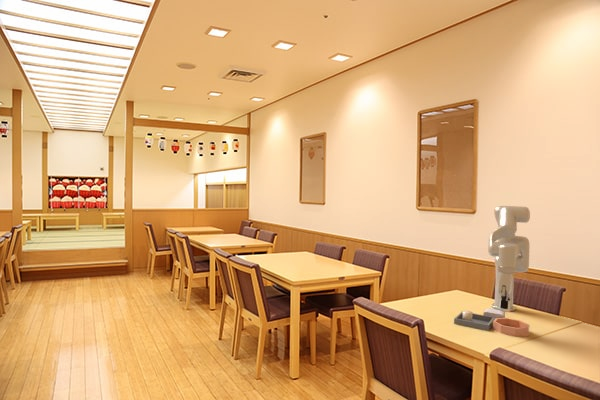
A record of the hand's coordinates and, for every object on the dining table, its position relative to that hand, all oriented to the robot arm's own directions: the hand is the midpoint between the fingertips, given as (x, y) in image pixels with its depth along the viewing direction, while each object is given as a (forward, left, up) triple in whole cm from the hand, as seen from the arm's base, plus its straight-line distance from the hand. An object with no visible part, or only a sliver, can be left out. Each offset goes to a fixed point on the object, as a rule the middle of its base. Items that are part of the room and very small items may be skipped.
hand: (504, 307), depth 196 cm
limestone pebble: (0, 0, -2) cm, 2 cm away
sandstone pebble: (0, -17, -11) cm, 20 cm away
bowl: (0, +3, -11) cm, 12 cm away
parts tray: (0, -14, -11) cm, 18 cm away
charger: (-18, -7, -12) cm, 23 cm away
